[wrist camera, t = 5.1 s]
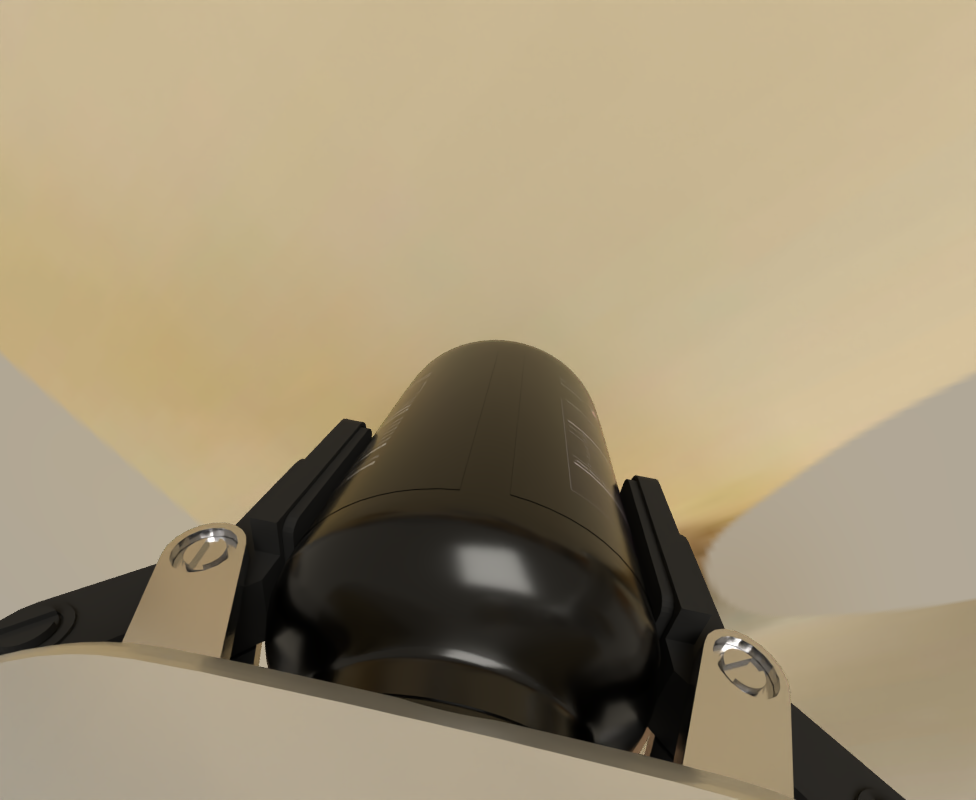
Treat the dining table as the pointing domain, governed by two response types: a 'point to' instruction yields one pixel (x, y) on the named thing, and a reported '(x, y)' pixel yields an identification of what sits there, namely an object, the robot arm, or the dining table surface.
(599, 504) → the supplement bottle
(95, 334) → the dining table surface
